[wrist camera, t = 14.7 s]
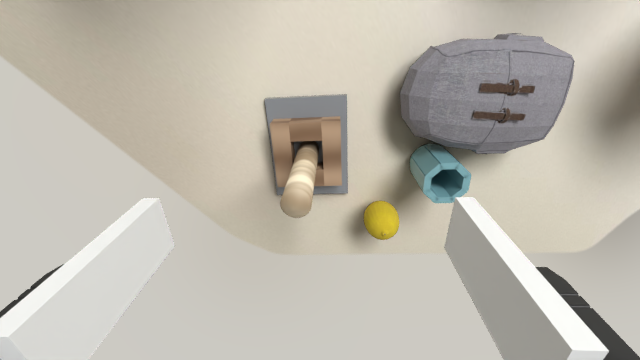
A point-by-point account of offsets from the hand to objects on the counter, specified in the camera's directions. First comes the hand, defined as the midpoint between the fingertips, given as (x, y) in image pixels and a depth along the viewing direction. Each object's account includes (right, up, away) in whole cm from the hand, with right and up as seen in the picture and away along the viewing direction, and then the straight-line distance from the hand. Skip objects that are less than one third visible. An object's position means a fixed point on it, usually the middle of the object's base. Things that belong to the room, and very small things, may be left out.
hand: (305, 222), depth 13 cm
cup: (+18, +5, +32) cm, 37 cm away
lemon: (+11, -3, +36) cm, 38 cm away
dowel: (-1, +7, +31) cm, 32 cm away
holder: (-1, +7, +31) cm, 32 cm away
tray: (-1, +7, +32) cm, 33 cm away
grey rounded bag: (+22, +15, +28) cm, 38 cm away
